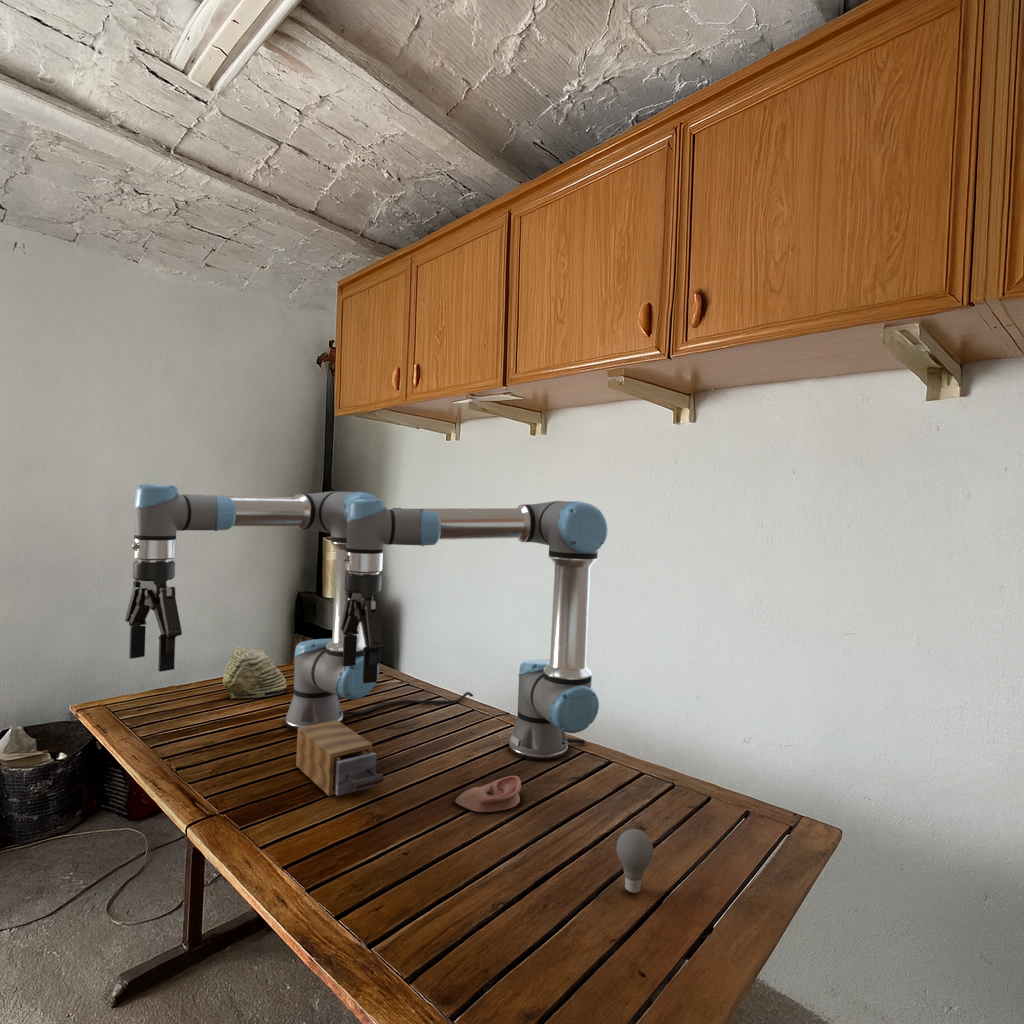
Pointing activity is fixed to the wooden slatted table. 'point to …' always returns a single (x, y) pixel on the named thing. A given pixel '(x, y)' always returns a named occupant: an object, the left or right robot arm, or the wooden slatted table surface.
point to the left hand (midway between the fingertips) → (151, 663)
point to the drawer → (355, 772)
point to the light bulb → (634, 857)
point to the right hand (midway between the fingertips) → (358, 673)
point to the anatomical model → (492, 795)
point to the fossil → (252, 674)
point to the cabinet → (326, 750)
